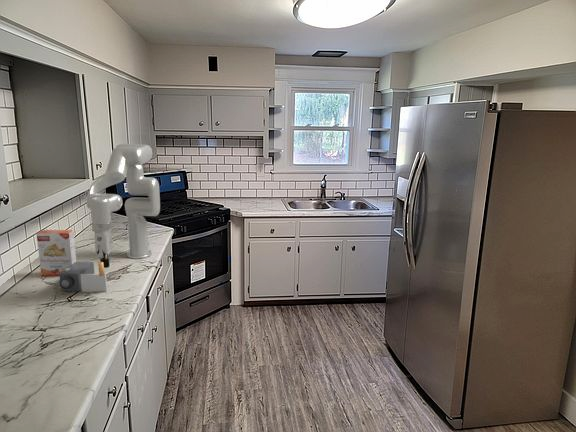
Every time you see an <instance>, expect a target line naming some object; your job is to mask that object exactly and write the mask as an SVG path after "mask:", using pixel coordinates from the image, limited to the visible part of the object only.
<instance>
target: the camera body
mask: <svg viewBox="0 0 576 432" xmlns="http://www.w3.org/2000/svg"><path fill="white" fill-rule="evenodd" d="M94 263H95V262H94V261H76V262H75V263H73V264H72V265H70V266H69V267H68V268H66V269H65V270H63V271H62V272H60V273H59V275H58V277H59V286H60V291H61V292H80V288H79V278H78V274H79V273H81V274H95V266H94Z"/></svg>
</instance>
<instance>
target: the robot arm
mask: <svg viewBox="0 0 576 432" xmlns="http://www.w3.org/2000/svg"><path fill="white" fill-rule="evenodd" d="M152 158H153V149H152V147H151V146H150V145H148V144H142V143H138V144H137V143H136V144H135V143H121V144H118V145H116V146H115V147H114V148H113V149H112V151H111V153H110V157H109V161H108V163H107V167H106V169H105V172H104V173H103V174H101V175H100V176H98V178H97V179H95V180H94V181H93V182H92V183H91V185H90V187H89V190H88V193H87V196H86V201H85V202H86V207H87V208H88V210H90V219H91V226H92V227H91V230H92V232H94V247H95V249H94V250H95V253H96V255H99V257H98V258H99V260H100V261H99V262H103V263H104V269H107V268H109V267H110V258H109V257H110V255H109V254H110V252H111V251H112V250H113V247H114V245H113V236H112V230H113V229H112V218H111V217H112V215H111V213H112V212H117V211H119V210H120V209H121V208H122V206H123V204H124V210H125V214H126V218H127V226H128V227H127V229H128V243H129V244H128V245H129V251H128V252H127V253H126V257H127V258H129V259H134V260H135V259H139V260H140V259H145V258H148V257H151V256H152V254H153V252H152V251H151V249H149V245H150V244H149V236H148V232H149V231H148V223H147V220H146V218H145V217H156V216H158V215H159V214H160V212H161V197H160V193H161V192H160V184H159V181H158V179H157V178H155V177H152V176H151V177H147V176H144V174H145V173H144V167H143V165H145V164H147V163H149V162H150V161H151V160H152ZM125 179H126V189H127V193H128V194H130V195H131V196H136V197H129V198H127V199H126V200H125V203H123V198H122V196H120V195H119V194H116V193H101V192H103V191H104V190H105V189H107V188H109V187H111V186H114V185H117V184H120V183H121V182H124V181H125ZM137 196H147V197H137Z"/></svg>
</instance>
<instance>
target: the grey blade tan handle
mask: <svg viewBox="0 0 576 432" xmlns="http://www.w3.org/2000/svg"><path fill="white" fill-rule="evenodd" d="M97 263H98V264H97V265H98V273H94V274H81V273H79V274H78V278H79V288H80V291H79V292H80V293H81V292H87V293H88V292H107V291H108V284H107V274H106V273H105V268H104V263H103V262H100V261H98V262H97Z"/></svg>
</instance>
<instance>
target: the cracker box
mask: <svg viewBox="0 0 576 432" xmlns="http://www.w3.org/2000/svg"><path fill="white" fill-rule="evenodd" d="M36 240H37V249H38V251H37V252H38V259H39V265H40V266H39V267H40V274H41V276H42V277H43V276H44V277H47V276H48V277H49V276H53V277H54V276H55V277H56V276H57V277H58V276H59V273H60V272H62V271H63V270H65V269H66V268H68V267H69V266H70V265H72V264H73V263H75V262H77V253H76V244H75V243H76V242H75V233H74V229H66V230H65V229H41V230H40V231H38V232H37V233H36Z"/></svg>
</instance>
